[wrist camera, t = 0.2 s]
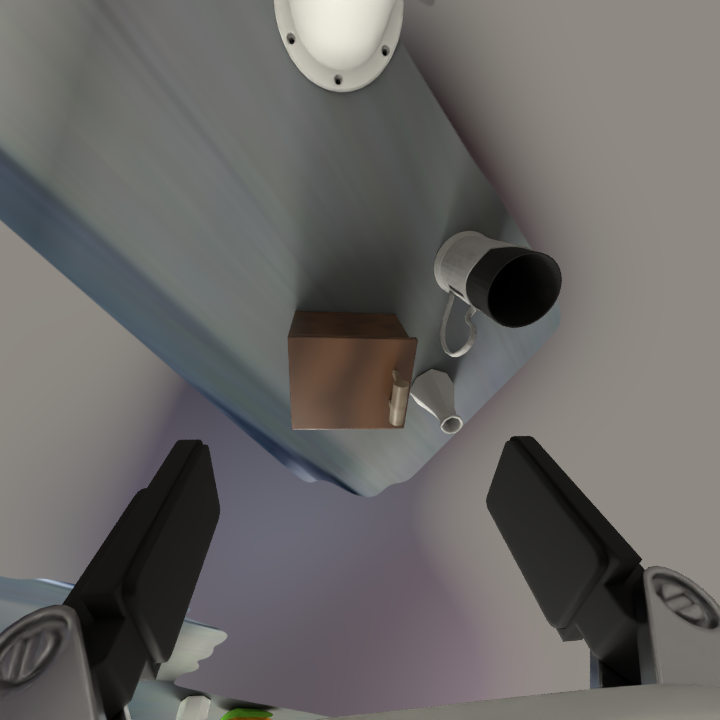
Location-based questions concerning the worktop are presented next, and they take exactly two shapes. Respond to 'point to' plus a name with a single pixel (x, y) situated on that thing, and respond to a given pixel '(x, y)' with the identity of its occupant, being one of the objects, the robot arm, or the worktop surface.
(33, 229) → the worktop surface
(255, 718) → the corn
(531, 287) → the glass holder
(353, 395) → the lid
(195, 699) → the jar
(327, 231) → the worktop surface
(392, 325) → the chest
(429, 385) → the flask
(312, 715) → the worktop surface
